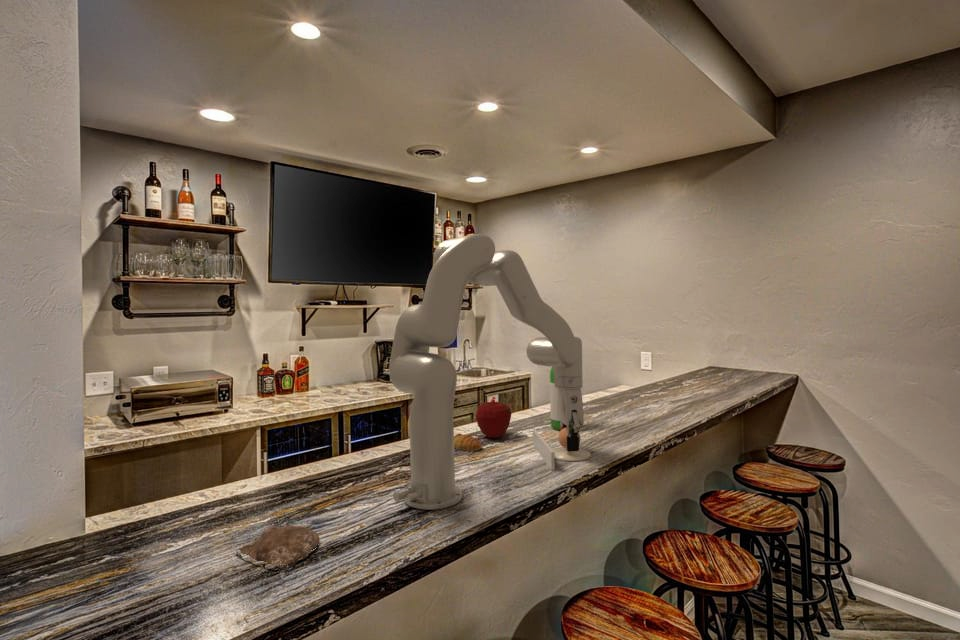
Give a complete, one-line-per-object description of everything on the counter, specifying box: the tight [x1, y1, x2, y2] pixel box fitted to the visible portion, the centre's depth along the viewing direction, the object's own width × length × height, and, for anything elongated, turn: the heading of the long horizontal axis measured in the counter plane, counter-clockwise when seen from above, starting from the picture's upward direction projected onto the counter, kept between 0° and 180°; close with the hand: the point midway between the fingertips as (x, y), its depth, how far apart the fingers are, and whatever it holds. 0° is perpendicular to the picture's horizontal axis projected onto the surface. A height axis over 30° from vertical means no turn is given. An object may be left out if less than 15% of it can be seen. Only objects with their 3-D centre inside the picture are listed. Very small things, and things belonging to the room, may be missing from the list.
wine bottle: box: [549, 367, 573, 431], centre depth 164 cm, size 8×8×30 cm
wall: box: [532, 429, 556, 471], centre depth 135 cm, size 22×1×4 cm, turn 6°
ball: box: [558, 427, 582, 449], centre depth 136 cm, size 6×6×6 cm
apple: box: [475, 400, 512, 439], centre depth 155 cm, size 11×11×12 cm
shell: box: [237, 525, 321, 566], centre depth 87 cm, size 12×13×4 cm
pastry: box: [454, 433, 483, 452], centre depth 145 cm, size 9×7×4 cm
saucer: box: [551, 446, 591, 463], centre depth 136 cm, size 11×11×1 cm
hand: (569, 446), depth 136 cm, fingers closed on ball, 6 cm apart
